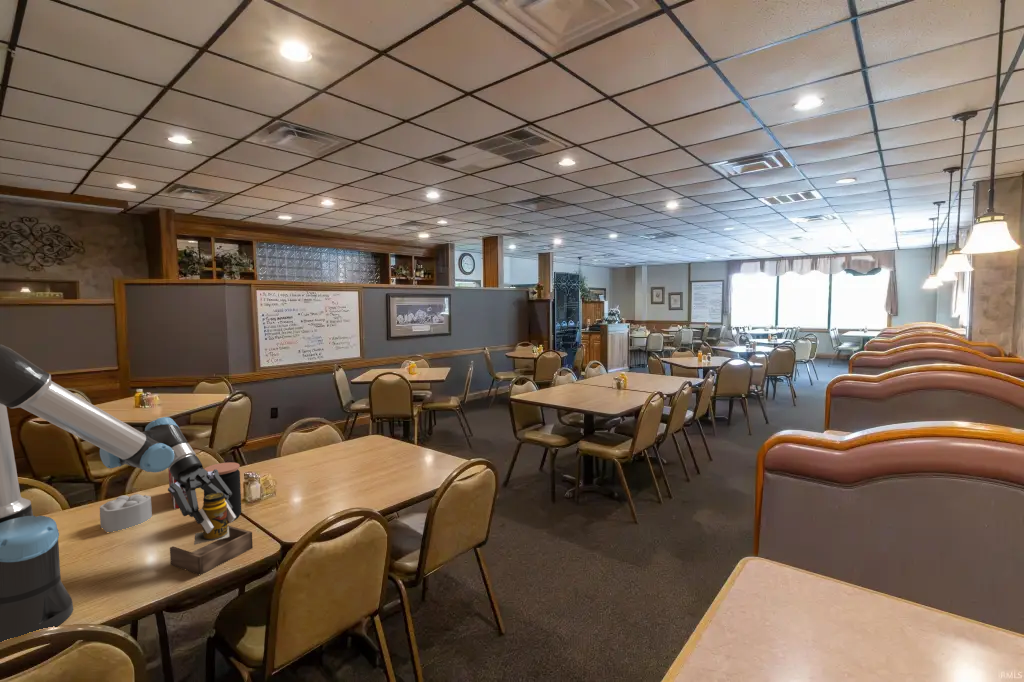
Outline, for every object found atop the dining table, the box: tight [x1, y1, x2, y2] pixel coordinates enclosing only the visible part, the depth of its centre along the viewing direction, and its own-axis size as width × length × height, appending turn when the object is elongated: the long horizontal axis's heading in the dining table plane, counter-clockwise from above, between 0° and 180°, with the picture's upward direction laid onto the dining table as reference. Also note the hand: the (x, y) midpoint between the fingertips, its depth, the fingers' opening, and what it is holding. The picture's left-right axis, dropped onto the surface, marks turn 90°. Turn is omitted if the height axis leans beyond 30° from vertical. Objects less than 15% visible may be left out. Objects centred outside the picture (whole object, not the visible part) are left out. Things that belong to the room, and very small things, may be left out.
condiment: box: [193, 493, 229, 546], centre depth 134 cm, size 7×8×12 cm
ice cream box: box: [167, 468, 189, 510], centre depth 176 cm, size 20×6×13 cm, turn 40°
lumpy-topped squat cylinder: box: [99, 493, 153, 533], centre depth 156 cm, size 10×13×9 cm
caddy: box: [169, 524, 254, 576], centre depth 135 cm, size 16×13×5 cm
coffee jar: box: [203, 461, 242, 524], centre depth 159 cm, size 11×11×18 cm
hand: (222, 525), depth 134 cm, fingers closed on condiment, 6 cm apart
